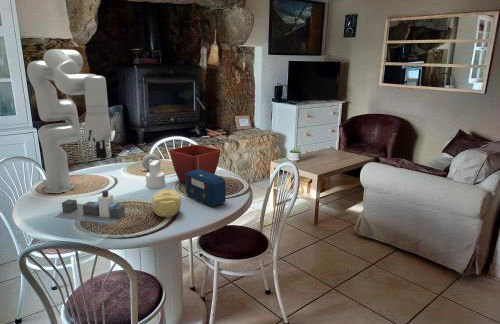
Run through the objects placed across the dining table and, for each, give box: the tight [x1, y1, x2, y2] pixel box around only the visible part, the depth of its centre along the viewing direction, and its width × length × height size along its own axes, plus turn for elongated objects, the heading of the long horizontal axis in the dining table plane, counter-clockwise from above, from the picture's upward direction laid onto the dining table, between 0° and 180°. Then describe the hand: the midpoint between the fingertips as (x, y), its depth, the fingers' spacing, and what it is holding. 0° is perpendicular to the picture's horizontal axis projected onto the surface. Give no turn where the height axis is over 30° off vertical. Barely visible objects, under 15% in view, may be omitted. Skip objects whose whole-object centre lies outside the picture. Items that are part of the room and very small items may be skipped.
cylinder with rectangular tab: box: [145, 159, 166, 189], centre depth 183 cm, size 9×9×12 cm
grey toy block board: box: [54, 198, 132, 228], centre depth 147 cm, size 25×14×6 cm, turn 78°
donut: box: [141, 153, 161, 171], centre depth 207 cm, size 10×4×10 cm, turn 112°
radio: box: [185, 161, 227, 207], centre depth 165 cm, size 21×9×20 cm, turn 45°
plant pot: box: [169, 144, 222, 183], centre depth 191 cm, size 19×19×17 cm
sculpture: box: [151, 189, 182, 218], centre depth 150 cm, size 11×12×11 cm
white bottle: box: [97, 189, 115, 217], centre depth 145 cm, size 4×4×10 cm
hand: (101, 157), depth 140 cm, fingers closed
